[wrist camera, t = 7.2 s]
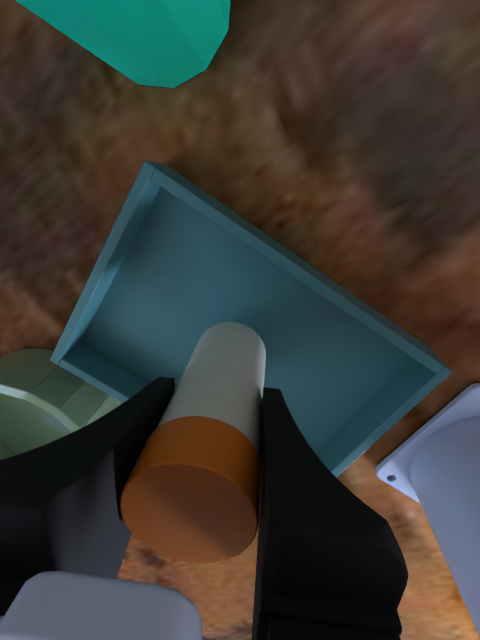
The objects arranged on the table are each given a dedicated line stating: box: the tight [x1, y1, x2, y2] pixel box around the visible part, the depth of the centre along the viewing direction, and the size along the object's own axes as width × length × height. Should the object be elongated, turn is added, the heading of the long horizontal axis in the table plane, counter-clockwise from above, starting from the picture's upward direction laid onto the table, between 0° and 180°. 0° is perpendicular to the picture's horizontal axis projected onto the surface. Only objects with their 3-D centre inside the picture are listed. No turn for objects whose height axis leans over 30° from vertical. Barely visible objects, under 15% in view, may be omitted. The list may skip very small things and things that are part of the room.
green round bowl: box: [0, 348, 122, 460], centre depth 20 cm, size 10×10×4 cm
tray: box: [50, 161, 452, 477], centre depth 18 cm, size 16×11×2 cm
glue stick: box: [120, 322, 266, 564], centre depth 13 cm, size 4×4×9 cm
